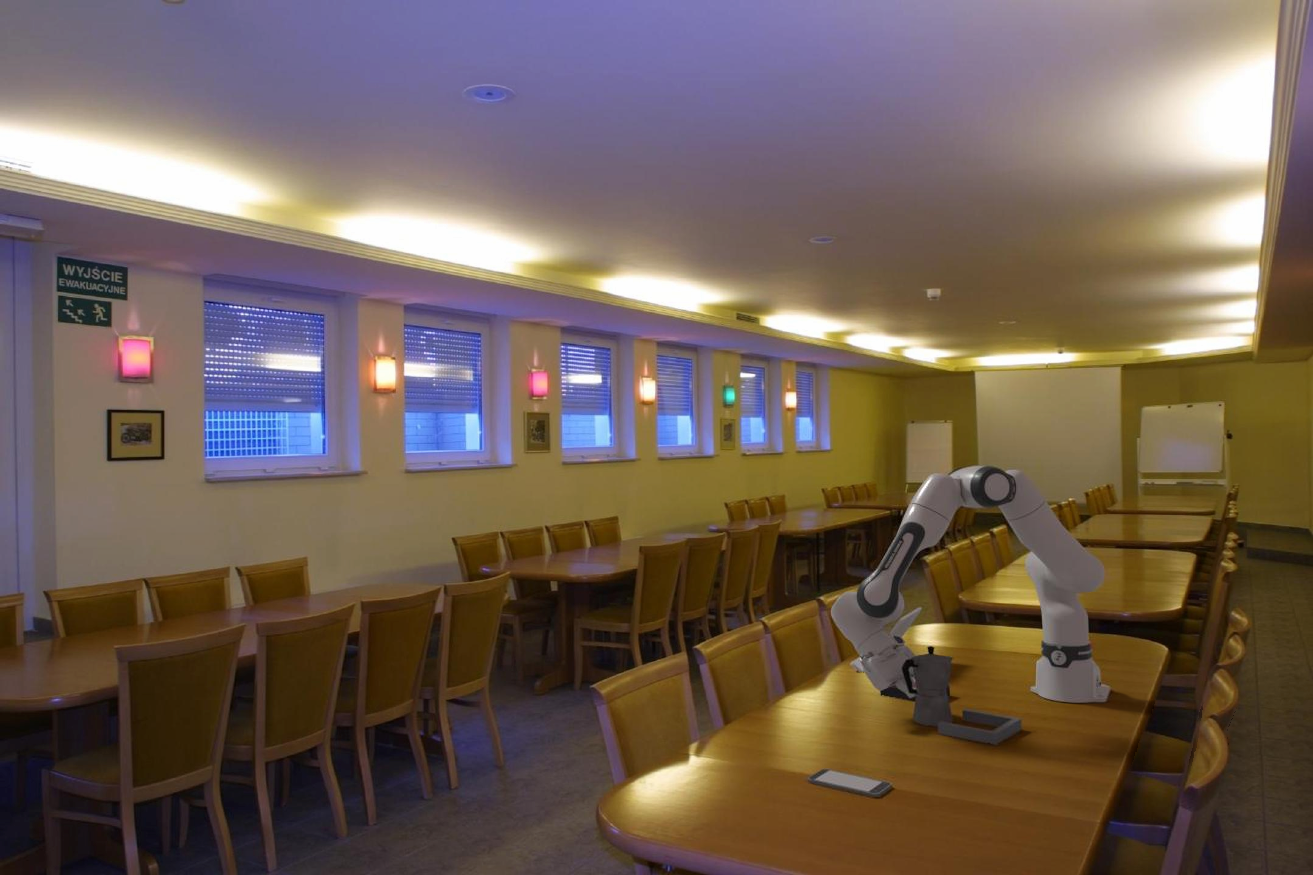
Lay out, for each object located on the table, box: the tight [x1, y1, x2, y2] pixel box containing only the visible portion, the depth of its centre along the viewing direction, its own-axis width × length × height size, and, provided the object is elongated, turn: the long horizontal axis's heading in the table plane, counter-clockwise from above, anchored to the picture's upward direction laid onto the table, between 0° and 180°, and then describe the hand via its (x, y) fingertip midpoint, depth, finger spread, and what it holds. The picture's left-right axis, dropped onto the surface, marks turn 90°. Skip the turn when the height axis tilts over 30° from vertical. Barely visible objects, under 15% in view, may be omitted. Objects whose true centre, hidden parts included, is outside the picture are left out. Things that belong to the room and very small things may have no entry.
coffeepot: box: [902, 645, 954, 728], centre depth 217 cm, size 15×9×18 cm, turn 115°
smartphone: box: [807, 768, 893, 798], centre depth 176 cm, size 7×1×15 cm
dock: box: [937, 708, 1023, 746], centre depth 209 cm, size 15×14×2 cm
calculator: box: [880, 677, 951, 702], centre depth 242 cm, size 11×4×15 cm
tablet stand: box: [849, 606, 923, 673], centre depth 277 cm, size 18×25×17 cm
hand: (915, 695), depth 220 cm, fingers closed, pressing on coffeepot
